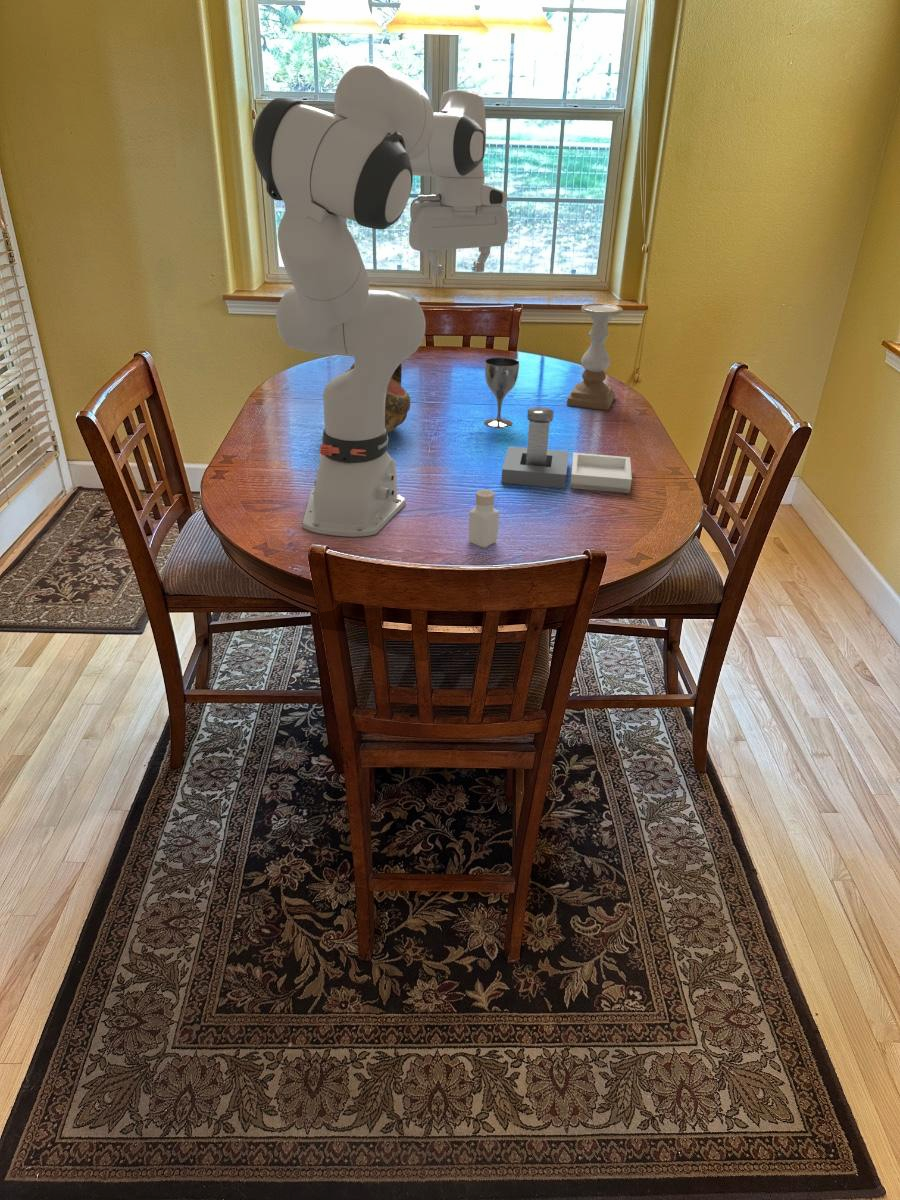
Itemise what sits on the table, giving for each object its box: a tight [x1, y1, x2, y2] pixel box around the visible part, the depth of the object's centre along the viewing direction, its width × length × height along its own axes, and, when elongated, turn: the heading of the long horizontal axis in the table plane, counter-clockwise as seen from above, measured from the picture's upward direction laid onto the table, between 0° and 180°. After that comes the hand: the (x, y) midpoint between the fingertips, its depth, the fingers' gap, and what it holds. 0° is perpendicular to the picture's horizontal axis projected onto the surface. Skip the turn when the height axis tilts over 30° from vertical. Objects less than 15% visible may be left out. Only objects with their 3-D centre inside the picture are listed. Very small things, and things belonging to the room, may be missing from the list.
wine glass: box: [483, 356, 520, 429], centre depth 191 cm, size 8×8×15 cm
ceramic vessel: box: [345, 362, 412, 435], centre depth 179 cm, size 17×26×25 cm, turn 161°
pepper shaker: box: [467, 488, 500, 548], centre depth 140 cm, size 4×4×10 cm
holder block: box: [501, 446, 570, 489], centre depth 168 cm, size 13×13×3 cm
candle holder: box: [566, 302, 624, 411], centre depth 204 cm, size 11×11×24 cm
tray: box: [569, 452, 633, 494], centre depth 167 cm, size 12×12×3 cm
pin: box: [526, 406, 555, 467], centre depth 166 cm, size 5×5×14 cm
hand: (458, 273), depth 156 cm, fingers open, 8 cm apart
